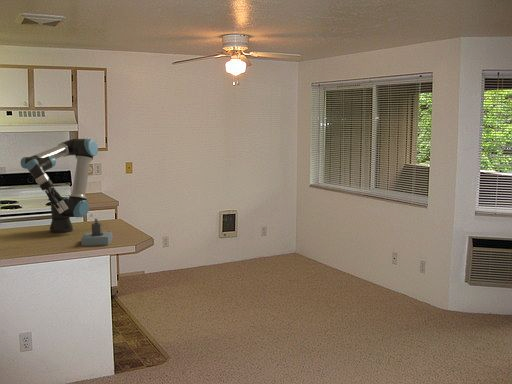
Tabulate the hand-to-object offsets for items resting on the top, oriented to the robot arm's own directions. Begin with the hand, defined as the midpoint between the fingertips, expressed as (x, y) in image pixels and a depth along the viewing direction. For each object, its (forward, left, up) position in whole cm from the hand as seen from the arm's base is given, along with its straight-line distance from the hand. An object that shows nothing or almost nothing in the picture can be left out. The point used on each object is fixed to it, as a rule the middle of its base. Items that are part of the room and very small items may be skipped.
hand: (64, 211), depth 360 cm
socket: (+2, +20, -20) cm, 28 cm away
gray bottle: (+2, +20, -20) cm, 28 cm away
